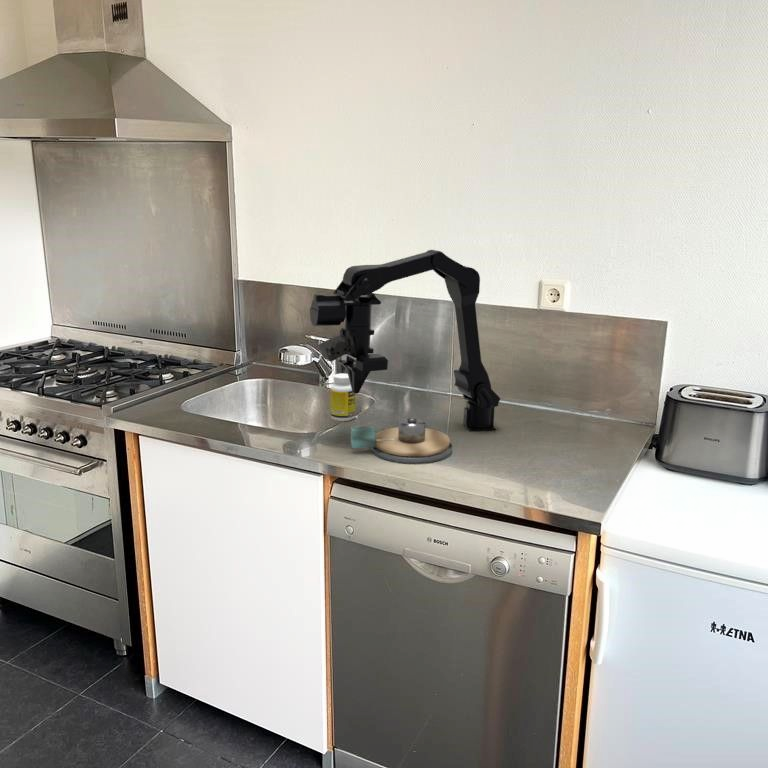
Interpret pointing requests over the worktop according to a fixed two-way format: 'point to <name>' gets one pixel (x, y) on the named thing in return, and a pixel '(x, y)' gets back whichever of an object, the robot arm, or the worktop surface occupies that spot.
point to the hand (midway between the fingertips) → (355, 393)
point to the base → (412, 459)
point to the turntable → (399, 442)
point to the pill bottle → (342, 399)
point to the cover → (411, 430)
